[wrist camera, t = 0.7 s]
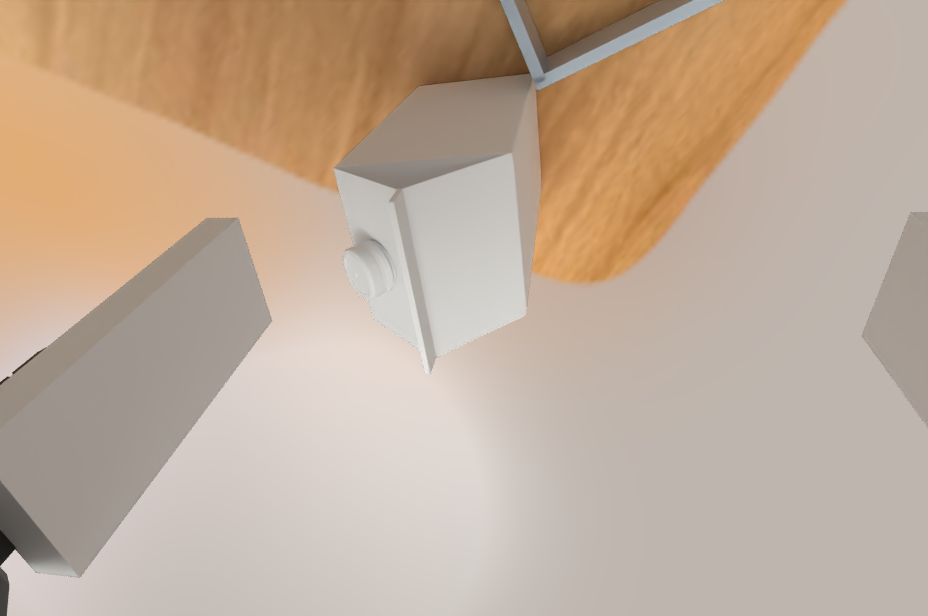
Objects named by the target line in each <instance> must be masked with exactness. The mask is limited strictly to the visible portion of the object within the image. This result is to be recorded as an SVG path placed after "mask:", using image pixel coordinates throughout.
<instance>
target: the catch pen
mask: <svg viewBox="0 0 928 616" xmlns="http://www.w3.org/2000/svg"><path fill="white" fill-rule="evenodd" d="M722 1H724V0H659V1H657V2H655V3H653V4H651V5H649V6H647V7H645V8H643V9H641V10H639V11H637V12H635V13H633V14H631V15H629V16H627V17H625V18H623V19H621V20H619V21H617V22H615V23H613V24H611V25H609V26H607V27H605V28H603V29H601V30H599V31H598V32H596V33H594V34H592V35H590V36H588V37H586V38H584V39H582V40H580V41H578V42H576V43H574V44H572V45H570V46H568V47H566V48H564V49H562V50H560V51H558V52H556V53H554V54H552V55H550V56H548V57H547V54H546V52H545V49H544V47H543V44H542V42H541V39H540V37H539V34H538V32H537V29H536V27H535V24H534V22H533V19H532V17H531V14H530V12H529V9H528V6H527V4H526V1H525V0H500V2H501V5H502V7H503V9H504V12H505V14H506V17H507V19H508V21H509V24H510V26H511V28H512V31H513V33H514V36H515V38H516V40H517V43H518V45H519V48H520V50H521V52H522V55H523V57H524V60H525V62H526V64H527V67H528V69H529V72H530V74H531V76H532V79H533V81H534V83H535V86H536V88H537V91H538V90H541V89H543V88H545V87H547V86H549V85H551V84H553V83H555V82H557V81H559V80H561V79H563V78H565V77H567V76H569V75H571V74H574V73H576V72H578V71H580V70H582V69H584V68H586V67H588V66H590V65H592V64H594V63H596V62H598V61H600V60H602V59H604V58H606V57H609V56H611V55H613V54H615V53H617V52H619V51H621V50H623V49H625V48H627V47H629V46H631V45H633V44H635V43H637V42H639V41H642V40H644V39H646V38H648V37H650V36H652V35H654V34H656V33H658V32H660V31H662V30H664V29H666V28H668V27H670V26H672V25H675V24H677V23H679V22H681V21H683V20H685V19H687V18H689V17H691V16H693V15H695V14H697V13H699V12H701V11H703V10H705V9H707V8H710V7H712V6H714V5H716V4H718V3H720V2H722Z"/></svg>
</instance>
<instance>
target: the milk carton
mask: <svg viewBox="0 0 928 616" xmlns="http://www.w3.org/2000/svg"><path fill="white" fill-rule="evenodd" d="M334 173H335V177H336V181H337V185H338V189H339V193H340V197H341V201H342V204H343V209H344V212H345V216H346V220H347V224H348V227H349V231H350V234H351V239H352V242H353V247H351V248H349V249H346V250H345V251H344V253H343V264H344V268H345V272H346V274H347V277H348V279H349V281H350V283H351V285H352V286H353V288H354V289H355V290H356V292H357V293H358V294H359V295H360V296H362V297H363V298H365V299H367V300H368V302H369V305H370V309H371V313H372V316H373V318H374V320H376V321H377V322H378V323H380V324H381V325H383V326H384V327H386V328H387V329H389V330H390V331H392V332H393V333H395V334H396V335H398V336H399V337H401V338H402V339H404V340H405V341H407V342H408V343H410V344H411V345H413V346H414V347H416V348H417V349H419V350H420V354H421V359H422V363H423V368H424V373H425V374H427V375H428V374H429V375H430V374H431V371H432V368H433V365H434V361H435V358H437V357H439V356H441V355H443V354H445V353H447V352H449V351H452V350H454V349H456V348H458V347H460V346H462V345H464V344H466V343H469V342H470V341H473V340H475V339H477V338H479V337H481V336H483V335H485V334H488V333H490V332H492V331H494V330H496V329H498V328H500V327H502V326H504V325H507V324H509V323H510V322H513V321H515V320H517V319H519V318H521V317H523V316H525V315H526V312H527V303H528V294H529V287H530V278H531V270H532V262H533V254H534V246H535V237H536V229H537V221H538V213H539V204H540V196H541V188H542V180H541V163H540V147H539V131H538V115H537V99H536V86H535V83H534V81H533V79H532V76H531V74H522V75H513V76H504V77H495V78H486V79H477V80H469V81H460V82H451V83H442V84H433V85H424V86H419V87H417V88H416V89H415V90H414V91H413V92H412V93H411V94H410V95H409V96H408V97H407V98H406V99H405V100H404V101H403V102H402V103H401V104H399V105H398V106H397V107H396V108H395V109H394V110H393V111H392V112H391V113H390V114H389V115H388V116H387V117H386V118H385V119H384V120H383V121H382V122H381V123H380V124H379V125H378V126H377V127H376V128H374V129H373V130H372V131H371V132H370V133H369V134H368V135H367V136H366V137H365V138H364V139H363V140H362V141H361V142H360V143H359V144H358V145H357V146H356V147H355V148H354V149H353V150H352V151H350V152H349V153H348V154H347V155H346V156H345V157H344V158H343V159H342V160H341V161H340V162H339V163H338V164H337V165H336V166H335V167H334Z"/></svg>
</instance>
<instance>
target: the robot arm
mask: <svg viewBox="0 0 928 616" xmlns="http://www.w3.org/2000/svg"><path fill="white" fill-rule="evenodd" d="M271 322H272V319H271V316H270V313H269V310H268V307H267V304H266V301H265V298H264V294H263V291H262V288H261V285H260V282H259V279H258V276H257V273H256V270H255V267H254V264H253V261H252V258H251V255H250V252H249V249H248V246H247V243H246V240H245V237H244V234H243V231H242V228H241V225H240V222H239V219H238V218H206V219H205V220H204V221H202V222H201V223H200V224H199V225H198V226H196V227H195V228H194V229H192V230H191V231H190V232H189V233H188V234H186V235H185V236H184V237H183V238H181V239H180V240H179V241H178V242H176V243H175V244H174V245H173V246H171V247H170V248H169V249H168V250H167V251H165V252H164V253H163V254H162V255H160V256H159V257H158V258H157V259H155V260H154V261H153V262H152V263H151V264H149V265H148V266H147V267H146V268H144V269H143V270H142V271H141V272H140V273H138V274H137V275H136V276H134V278H132V279H131V280H129V281H128V282H127V283H126V284H125V285H123V286H122V287H121V288H120V289H118V290H117V291H116V292H115V293H113V294H112V295H111V296H110V297H108V298H107V299H106V300H105V301H104V302H102V303H101V304H100V305H99V306H97V307H96V308H95V309H94V310H92V311H91V312H90V313H89V314H87V315H86V316H85V317H84V318H83V319H81V320H80V321H79V322H78V323H76V324H75V325H74V326H73V327H72V328H70V329H69V330H68V331H66V332H65V333H64V334H63V335H62V336H60V337H59V338H58V339H57V340H55V341H54V342H53V343H52V344H51V345H49V346H48V347H46V348H44V349H43V350H41V351H39V352H37V353H36V354H35V355H34V356H32V357H31V358H30V359H29V360H27V361H26V362H25V363H24V364H22V365H21V366H20V367H19V368H17V369H16V370H15V371H14V372H13V375H12V376H11V377H6V378H5V379H4V380H2V381H1V382H0V566H1V564H2V563H3V562H4V561H5V560H6V559H7V558H8V557H9V555H10V554H11V553H12V552H13V551H14V550H16V551H17V552H18V553H19V554H20V555H21V556H22V557H23V559H24V560H25V561H26V562H27V563H28V564H29V565H30V567H31V568H32V569H33V570H34V571H35V572H36V573H43V574H53V575H60V576H70V577H77V578H80V577H81V576H82V574H83V573H84V572H85V570H86V569H87V568H88V566H89V565H90V564H91V562H92V561H93V560H94V558H95V557H96V556H97V554H98V553H99V552H100V550H101V549H102V548H103V546H104V545H105V544H106V542H107V541H108V539H109V538H110V537H111V536H112V534H113V533H114V532H115V530H116V529H117V528H118V526H119V525H120V524H121V522H122V521H123V520H124V518H125V517H126V516H127V514H128V513H129V512H130V510H131V509H132V507H133V506H134V505H135V503H136V502H137V501H138V499H139V498H140V497H141V495H142V494H143V493H144V491H145V490H146V489H147V487H148V486H149V485H150V483H151V482H152V481H153V479H154V478H155V477H156V475H157V474H158V473H159V471H160V470H161V469H162V467H163V466H164V465H165V463H166V462H167V461H168V459H169V458H170V457H171V455H172V454H173V453H174V451H175V450H176V449H177V447H178V446H179V445H180V443H181V442H182V441H183V439H184V438H185V437H186V435H187V434H188V433H189V431H190V430H191V429H192V427H193V426H194V425H195V423H196V422H197V421H198V419H199V418H200V417H201V415H202V414H203V413H204V411H205V410H206V408H207V407H208V406H209V405H210V403H211V402H212V401H213V399H214V398H215V396H216V395H217V394H218V392H219V391H220V390H221V388H222V387H223V386H224V384H225V383H226V382H227V380H228V379H229V378H230V376H231V375H232V374H233V372H234V371H235V370H236V368H237V367H238V366H239V364H240V363H241V361H242V360H243V359H244V358H245V356H246V355H247V354H248V352H249V351H250V350H251V348H252V347H253V346H254V344H255V343H256V341H257V340H258V339H259V337H260V336H261V335H262V333H263V332H264V331H265V330H266V328H267V327H268V325H269V324H270V323H271ZM862 337H863V339H864V340H865V341H866V343H867V344H868V345H869V347H870V348H871V350H872V351H873V352H874V354H875V355H876V357H877V358H878V359H879V361H880V362H881V364H882V365H883V366H884V368H885V369H886V370H887V372H888V373H889V375H890V376H891V377H892V379H893V380H894V382H895V383H896V384H897V386H898V387H899V389H900V390H901V391H902V393H903V394H904V395H905V397H906V398H907V400H908V401H909V402H910V404H911V405H912V407H913V408H914V409H915V411H916V412H917V413H918V415H919V416H920V418H921V419H922V421H923V422H924V423H925V425H926V426H927V427H928V212H913V213H912V212H911V213H910V214H909V217H908V220H907V222H906V225H905V227H904V230H903V232H902V235H901V237H900V240H899V242H898V245H897V247H896V250H895V252H894V255H893V258H892V260H891V263H890V265H889V268H888V270H887V273H886V275H885V278H884V280H883V283H882V285H881V288H880V290H879V293H878V296H877V298H876V301H875V303H874V306H873V308H872V311H871V313H870V316H869V318H868V321H867V323H866V326H865V328H864V331H863V333H862ZM8 594H9V581H8V577H7V574H6V573H5V572H4V571H3V570H2V569H1V568H0V616H7V605H8Z"/></svg>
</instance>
